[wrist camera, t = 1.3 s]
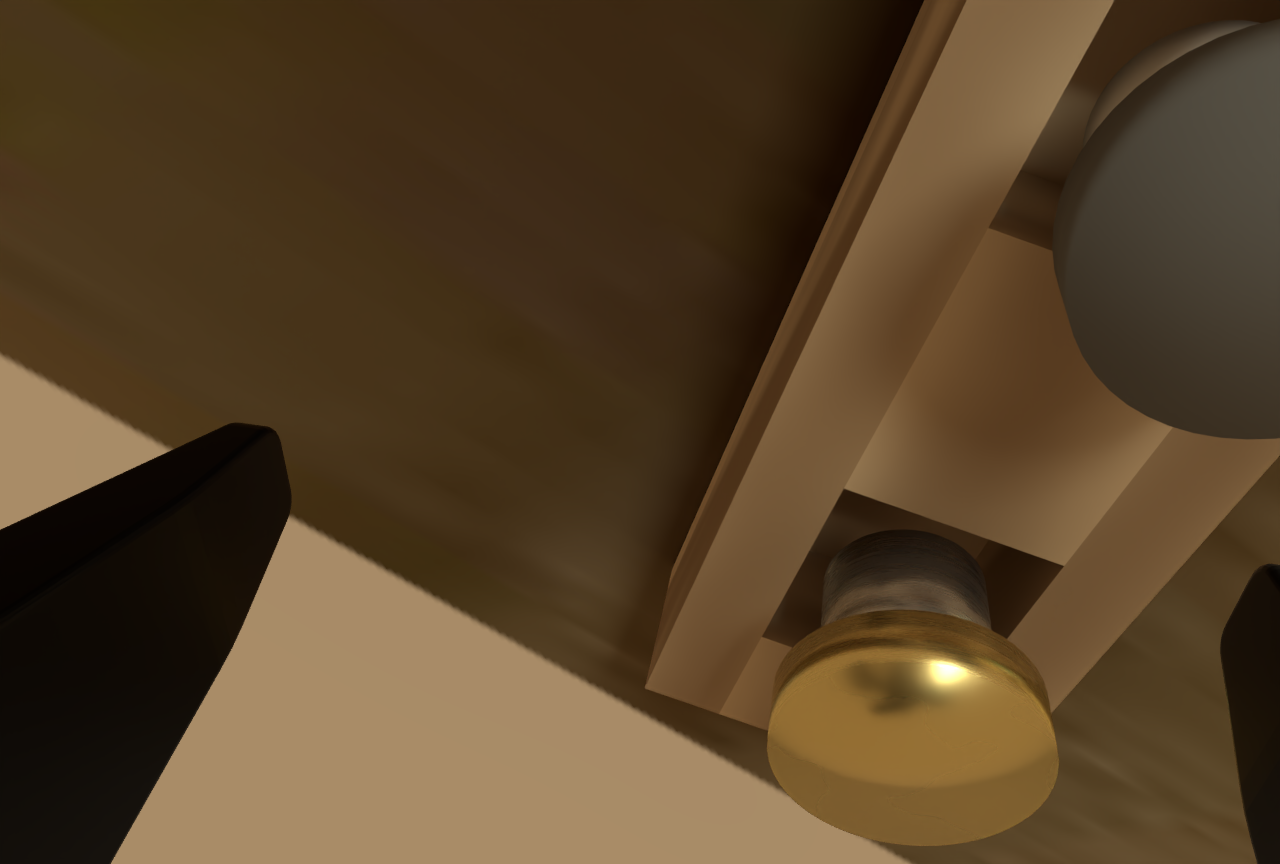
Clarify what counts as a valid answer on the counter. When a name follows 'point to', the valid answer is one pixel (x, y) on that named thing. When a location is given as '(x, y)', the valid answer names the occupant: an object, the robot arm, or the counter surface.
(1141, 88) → the grey domed piece
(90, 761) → the robot arm
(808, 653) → the brass plug
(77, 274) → the counter surface
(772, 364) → the oak block
